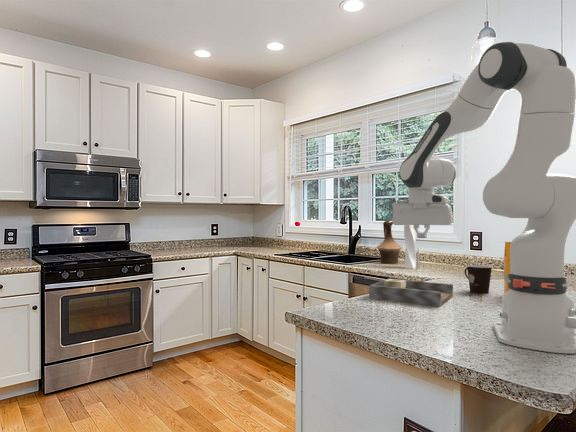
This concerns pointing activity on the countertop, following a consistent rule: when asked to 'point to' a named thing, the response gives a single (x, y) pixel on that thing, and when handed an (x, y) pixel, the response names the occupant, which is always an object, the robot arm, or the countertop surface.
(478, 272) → the coffee mug
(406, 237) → the skyscraper
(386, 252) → the brown vase
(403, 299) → the grey tray
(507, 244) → the orange juice
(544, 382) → the countertop surface
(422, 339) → the countertop surface
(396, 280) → the birch block
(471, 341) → the countertop surface
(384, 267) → the countertop surface
